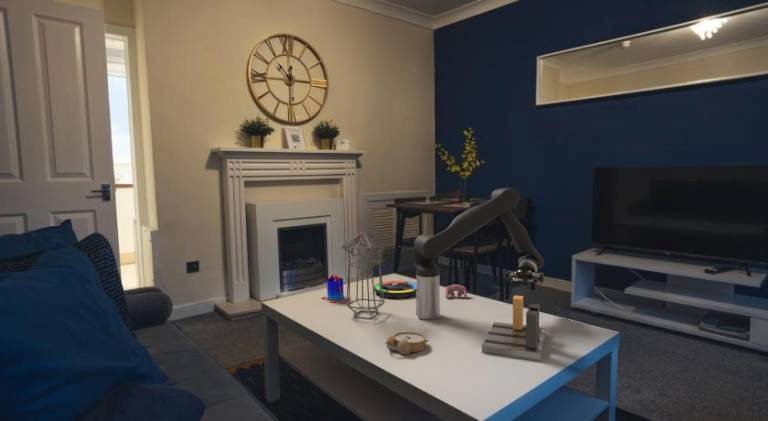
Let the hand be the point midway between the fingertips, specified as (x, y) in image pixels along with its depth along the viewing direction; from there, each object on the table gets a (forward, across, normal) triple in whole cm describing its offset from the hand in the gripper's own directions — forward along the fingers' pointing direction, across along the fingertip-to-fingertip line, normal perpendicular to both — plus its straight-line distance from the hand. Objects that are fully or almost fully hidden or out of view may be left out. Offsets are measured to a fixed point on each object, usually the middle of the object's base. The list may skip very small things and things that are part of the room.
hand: (522, 280), depth 162 cm
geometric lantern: (+9, -62, +16) cm, 65 cm away
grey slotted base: (+19, 0, +17) cm, 25 cm away
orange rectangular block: (+11, 0, +14) cm, 18 cm away
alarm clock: (+36, -34, +17) cm, 52 cm away
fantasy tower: (-5, -85, +16) cm, 87 cm away
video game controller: (-26, -33, +17) cm, 46 cm away
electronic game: (-25, -62, +17) cm, 69 cm away
